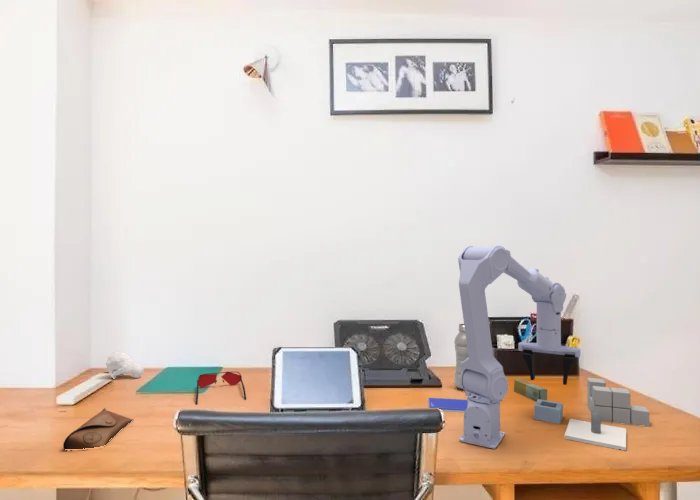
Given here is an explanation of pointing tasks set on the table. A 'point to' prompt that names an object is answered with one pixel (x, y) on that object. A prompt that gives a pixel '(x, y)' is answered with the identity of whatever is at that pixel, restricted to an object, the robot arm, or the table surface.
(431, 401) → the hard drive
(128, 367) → the white lumpy piece
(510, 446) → the table surface
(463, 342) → the plastic bottle
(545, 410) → the grey square ring
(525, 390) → the medication box
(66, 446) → the sunglasses case
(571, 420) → the post plate
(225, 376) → the glasses
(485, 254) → the robot arm
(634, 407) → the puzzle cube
